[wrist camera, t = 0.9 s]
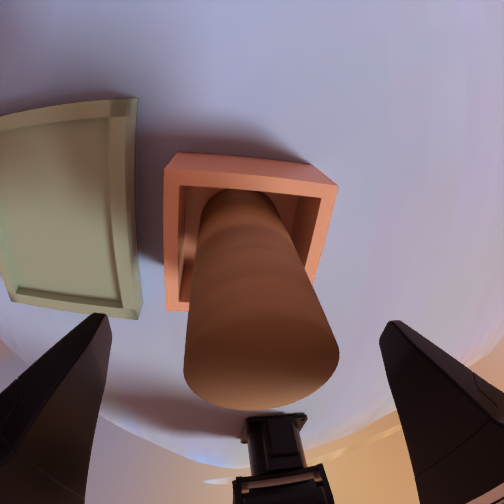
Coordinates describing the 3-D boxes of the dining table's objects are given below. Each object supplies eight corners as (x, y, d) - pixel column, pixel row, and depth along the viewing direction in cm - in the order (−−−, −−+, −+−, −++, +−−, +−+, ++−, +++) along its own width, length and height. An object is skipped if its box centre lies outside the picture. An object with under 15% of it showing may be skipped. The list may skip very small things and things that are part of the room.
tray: (142, 302, 17) (137, 319, 16) (21, 287, 16) (11, 301, 14) (137, 98, 11) (127, 98, 10) (-9, 118, 10) (-25, 123, 8)
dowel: (272, 260, 16) (314, 406, 8) (198, 255, 15) (186, 409, 8) (284, 190, 14) (361, 316, 6) (202, 183, 13) (180, 313, 6)
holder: (289, 276, 17) (303, 315, 14) (174, 270, 16) (166, 310, 13) (312, 165, 14) (338, 185, 11) (177, 151, 13) (163, 169, 10)
